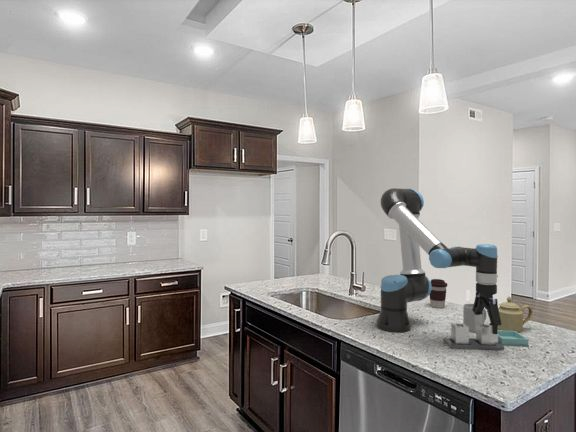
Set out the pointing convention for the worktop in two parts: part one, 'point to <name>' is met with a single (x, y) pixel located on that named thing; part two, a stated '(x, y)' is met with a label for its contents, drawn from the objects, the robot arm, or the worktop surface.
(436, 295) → the coffee cup
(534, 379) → the worktop surface
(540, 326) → the worktop surface
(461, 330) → the light gray block
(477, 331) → the steel cube with knob
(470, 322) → the mug
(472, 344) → the grey slotted plate
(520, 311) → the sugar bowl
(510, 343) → the parts tray
